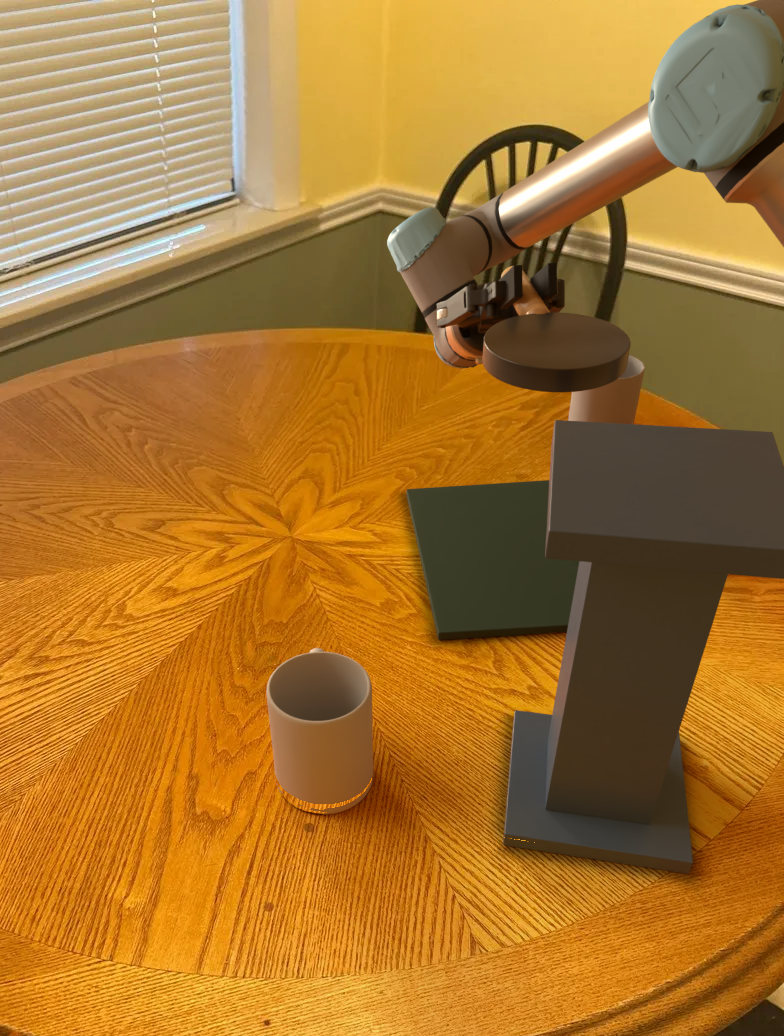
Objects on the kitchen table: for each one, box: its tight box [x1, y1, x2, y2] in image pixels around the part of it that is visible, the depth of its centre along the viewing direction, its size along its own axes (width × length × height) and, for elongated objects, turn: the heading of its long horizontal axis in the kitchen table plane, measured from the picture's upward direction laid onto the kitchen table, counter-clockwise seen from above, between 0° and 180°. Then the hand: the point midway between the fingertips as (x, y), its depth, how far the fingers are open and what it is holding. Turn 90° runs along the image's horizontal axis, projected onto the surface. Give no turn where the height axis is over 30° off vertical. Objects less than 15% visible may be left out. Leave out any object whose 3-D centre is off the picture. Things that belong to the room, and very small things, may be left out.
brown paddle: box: [482, 265, 632, 393], centre depth 80 cm, size 24×12×2 cm, turn 2°
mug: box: [266, 647, 375, 815], centre depth 75 cm, size 12×8×11 cm
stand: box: [502, 419, 784, 875], centre depth 65 cm, size 14×14×30 cm
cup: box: [567, 354, 646, 424], centre depth 117 cm, size 8×8×10 cm
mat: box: [405, 479, 579, 641], centre depth 101 cm, size 28×18×1 cm, turn 2°
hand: (535, 279), depth 80 cm, fingers closed on brown paddle, 2 cm apart
